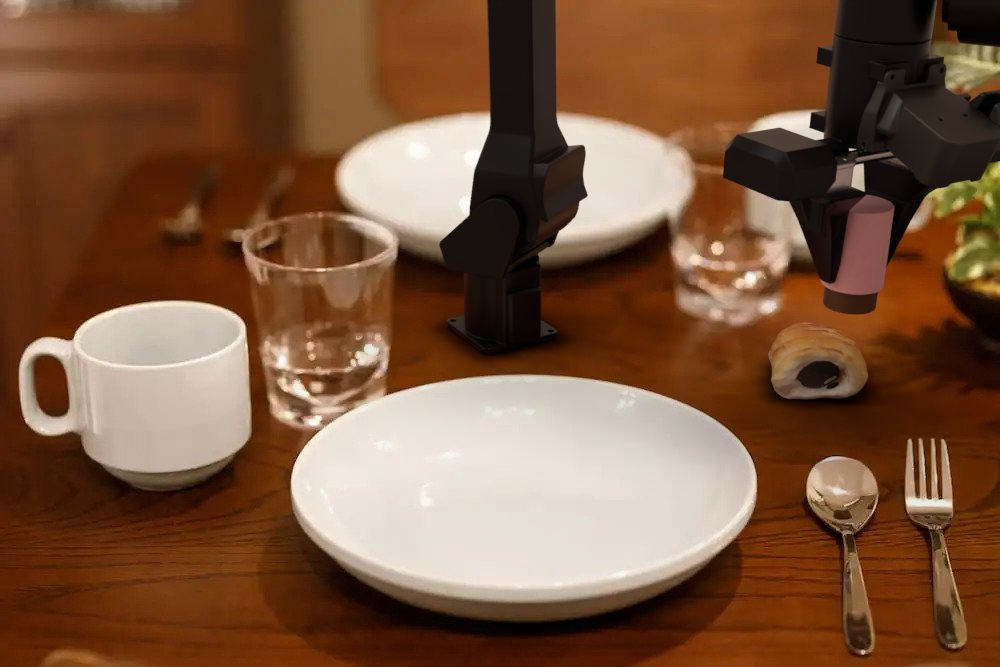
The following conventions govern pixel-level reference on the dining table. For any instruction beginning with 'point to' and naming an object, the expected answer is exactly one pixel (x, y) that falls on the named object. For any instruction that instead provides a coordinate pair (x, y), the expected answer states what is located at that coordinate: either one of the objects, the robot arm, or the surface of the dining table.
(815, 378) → the pastry
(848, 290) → the bottle
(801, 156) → the robot arm
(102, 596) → the dining table surface
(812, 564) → the dining table surface
